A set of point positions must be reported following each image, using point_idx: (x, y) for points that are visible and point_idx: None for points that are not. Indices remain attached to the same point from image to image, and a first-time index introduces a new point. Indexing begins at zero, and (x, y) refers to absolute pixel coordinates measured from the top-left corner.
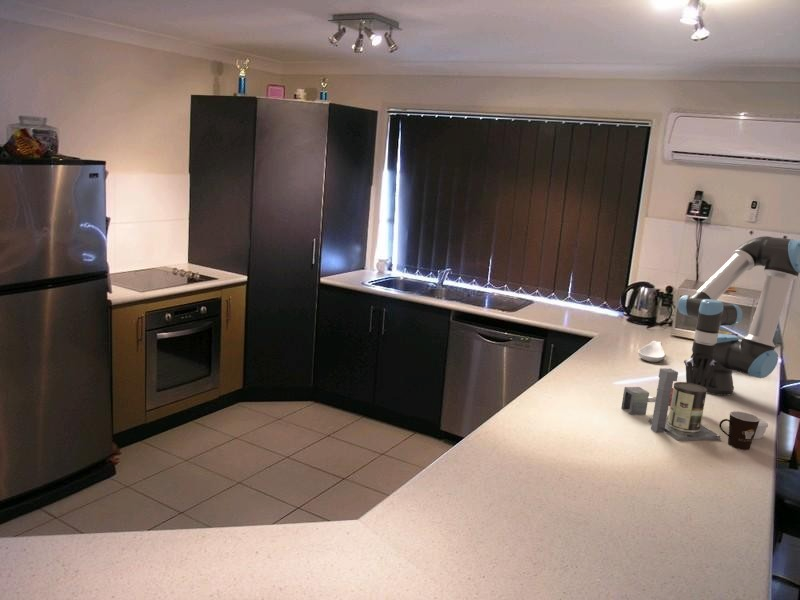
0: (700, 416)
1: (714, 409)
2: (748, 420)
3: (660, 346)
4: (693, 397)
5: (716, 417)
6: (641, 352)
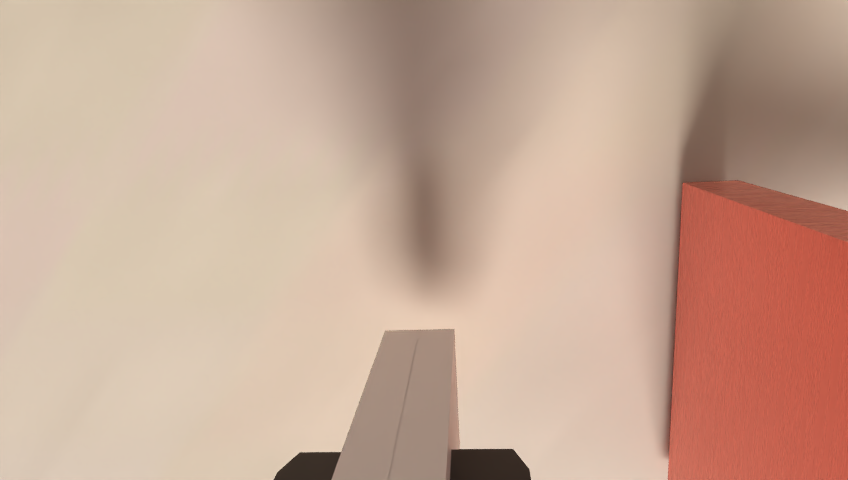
0: None
1: (57, 391)
2: None
3: None
4: None
5: (201, 103)
6: None
